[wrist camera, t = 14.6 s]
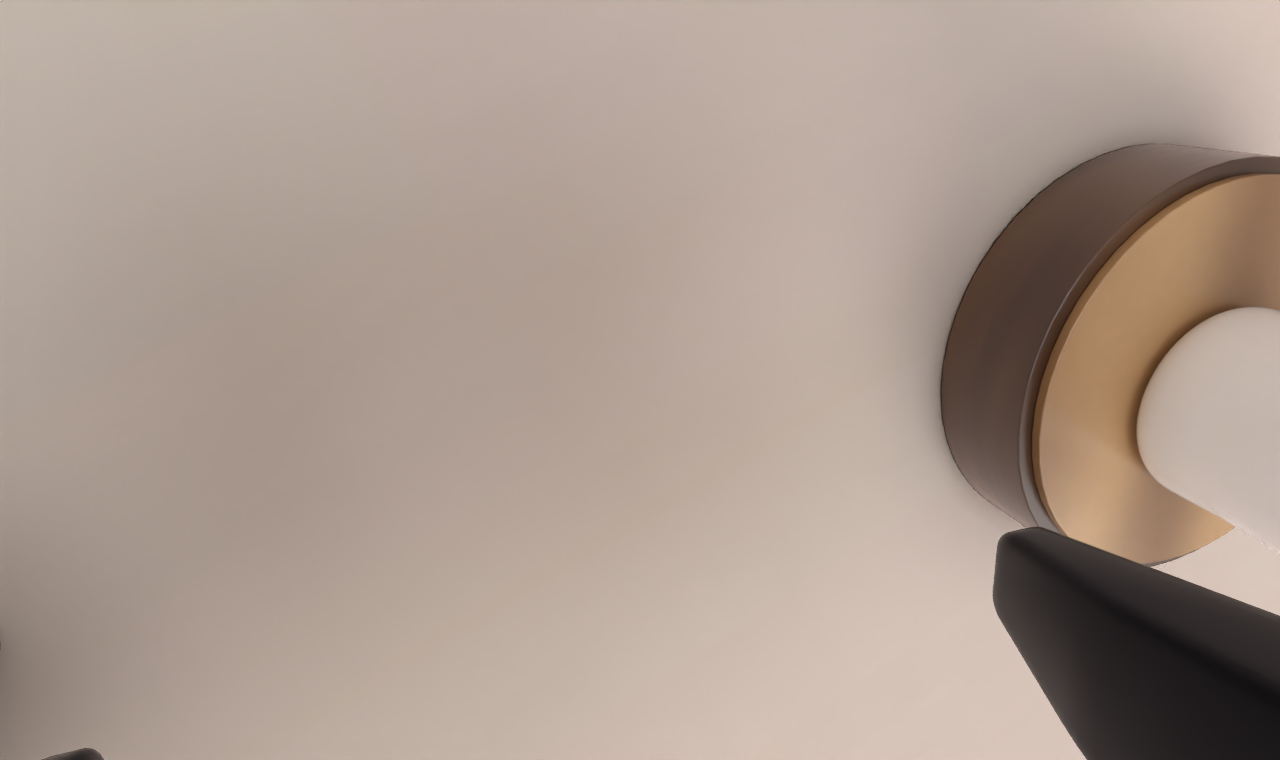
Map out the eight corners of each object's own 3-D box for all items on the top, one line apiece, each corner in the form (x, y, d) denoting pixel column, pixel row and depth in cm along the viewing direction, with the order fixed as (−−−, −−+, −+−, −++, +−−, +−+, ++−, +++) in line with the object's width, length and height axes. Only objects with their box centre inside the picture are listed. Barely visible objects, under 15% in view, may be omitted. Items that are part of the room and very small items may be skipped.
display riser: (939, 562, 27) (1016, 628, 24) (942, 187, 22) (1039, 210, 19) (1230, 461, 30) (1333, 509, 27) (1289, 109, 25) (1423, 118, 22)
